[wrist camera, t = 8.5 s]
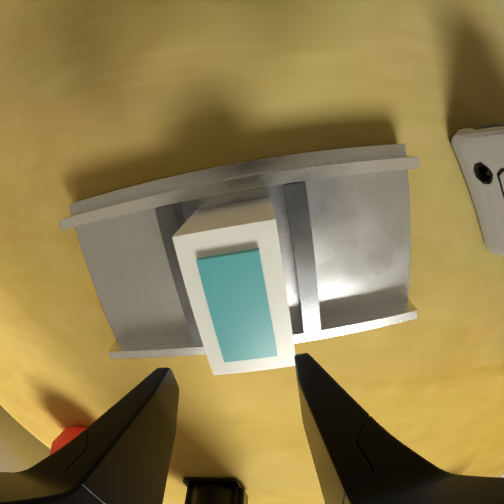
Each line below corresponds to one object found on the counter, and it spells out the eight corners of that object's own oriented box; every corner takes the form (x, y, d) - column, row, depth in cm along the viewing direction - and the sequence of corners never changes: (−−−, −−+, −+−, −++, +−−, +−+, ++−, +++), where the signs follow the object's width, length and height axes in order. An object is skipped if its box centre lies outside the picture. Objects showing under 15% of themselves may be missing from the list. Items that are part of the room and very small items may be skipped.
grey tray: (126, 345, 21) (115, 366, 18) (77, 201, 17) (55, 210, 15) (401, 307, 19) (415, 326, 17) (397, 143, 16) (417, 144, 13)
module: (223, 320, 19) (212, 379, 14) (196, 209, 16) (169, 239, 11) (288, 311, 18) (297, 369, 13) (270, 196, 16) (276, 220, 11)
